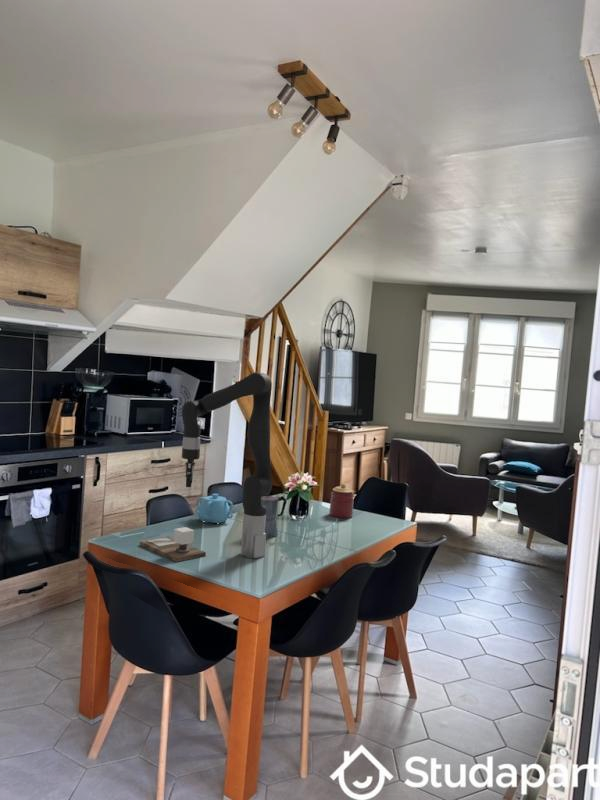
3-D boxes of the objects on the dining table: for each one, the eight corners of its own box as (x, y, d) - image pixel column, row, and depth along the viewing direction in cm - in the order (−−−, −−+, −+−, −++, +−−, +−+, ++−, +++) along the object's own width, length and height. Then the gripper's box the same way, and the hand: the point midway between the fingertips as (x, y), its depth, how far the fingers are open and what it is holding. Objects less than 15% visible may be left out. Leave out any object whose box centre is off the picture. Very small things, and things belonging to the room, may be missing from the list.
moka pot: (249, 532, 284) (252, 490, 283) (279, 531, 291) (282, 489, 290) (257, 538, 275) (260, 495, 274) (287, 536, 282) (291, 494, 281)
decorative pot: (193, 517, 304) (194, 490, 303) (223, 516, 310) (225, 490, 310) (201, 526, 289) (203, 498, 288) (234, 524, 296) (236, 497, 295)
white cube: (193, 542, 243) (194, 530, 243) (181, 544, 239) (182, 532, 239) (184, 539, 247) (185, 527, 247) (173, 541, 243) (174, 528, 243)
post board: (205, 555, 245) (207, 532, 244) (176, 562, 234) (178, 537, 234) (168, 539, 262) (169, 518, 262) (139, 545, 252) (141, 522, 252)
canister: (356, 518, 329) (358, 486, 328) (333, 518, 325) (336, 485, 324) (347, 512, 341) (350, 481, 340) (326, 512, 338) (328, 481, 337)
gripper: (199, 450, 252) (197, 488, 253) (200, 445, 267) (198, 482, 267) (181, 449, 251) (178, 488, 252) (183, 445, 266) (181, 481, 266)
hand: (189, 485), depth 260 cm, fingers open, 8 cm apart
